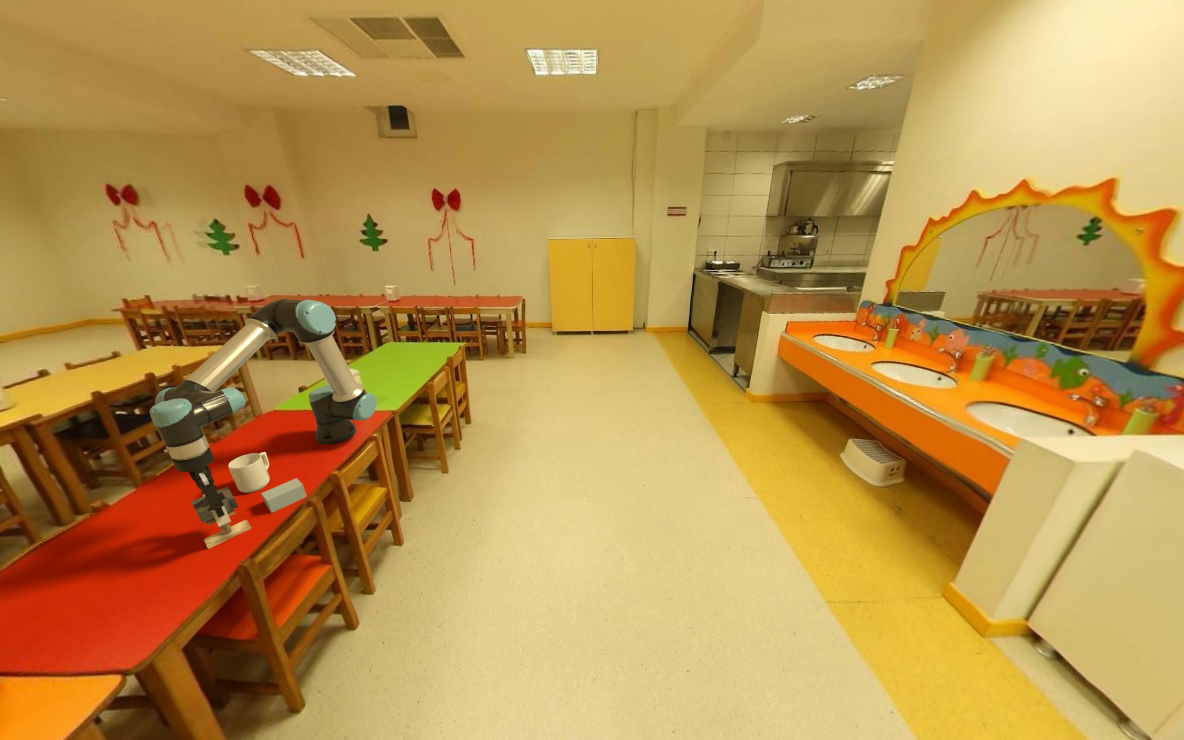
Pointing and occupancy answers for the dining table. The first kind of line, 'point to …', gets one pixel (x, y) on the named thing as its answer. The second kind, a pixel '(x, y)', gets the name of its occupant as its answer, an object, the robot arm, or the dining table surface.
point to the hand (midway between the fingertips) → (220, 516)
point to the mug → (250, 472)
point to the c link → (202, 505)
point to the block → (284, 495)
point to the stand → (226, 531)
